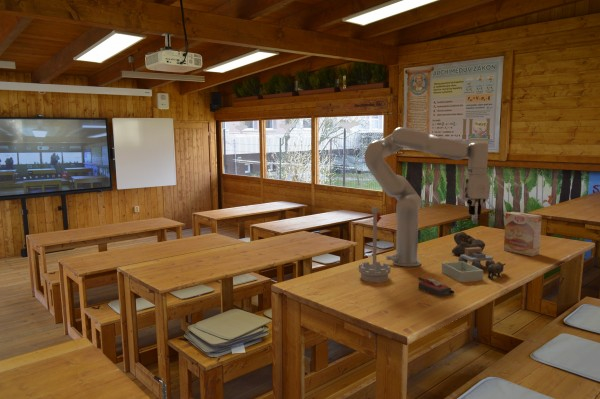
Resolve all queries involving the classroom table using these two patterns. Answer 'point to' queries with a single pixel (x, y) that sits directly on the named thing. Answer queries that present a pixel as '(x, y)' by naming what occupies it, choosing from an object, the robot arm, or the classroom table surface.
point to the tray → (462, 271)
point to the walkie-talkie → (434, 287)
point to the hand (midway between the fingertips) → (474, 214)
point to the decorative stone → (465, 243)
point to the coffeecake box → (522, 233)
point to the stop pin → (475, 217)
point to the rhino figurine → (495, 270)
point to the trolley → (476, 257)
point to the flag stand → (374, 258)
